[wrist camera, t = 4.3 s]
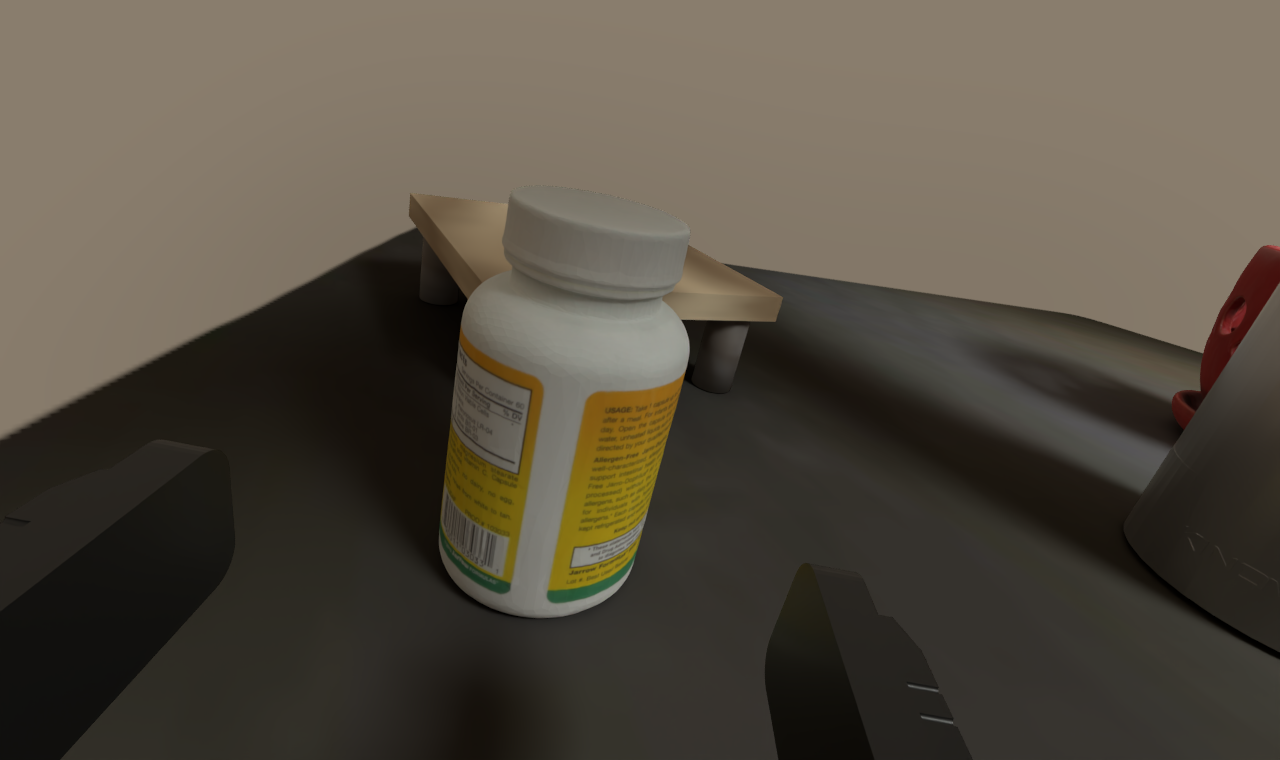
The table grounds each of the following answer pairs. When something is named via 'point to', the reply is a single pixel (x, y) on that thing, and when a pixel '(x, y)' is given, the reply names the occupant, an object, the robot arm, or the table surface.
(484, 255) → the peg shelf
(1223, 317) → the plant pot
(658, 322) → the supplement bottle
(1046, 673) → the table surface
